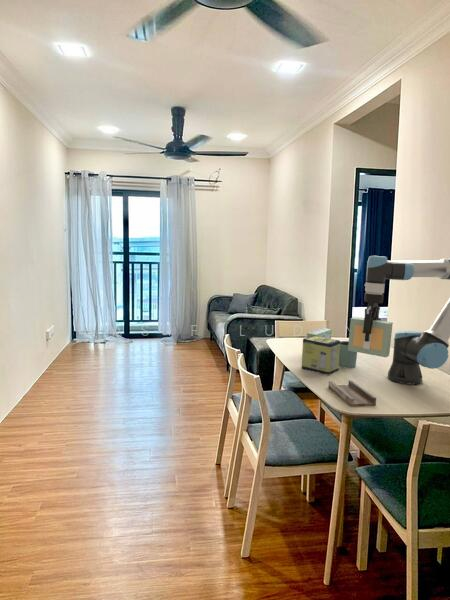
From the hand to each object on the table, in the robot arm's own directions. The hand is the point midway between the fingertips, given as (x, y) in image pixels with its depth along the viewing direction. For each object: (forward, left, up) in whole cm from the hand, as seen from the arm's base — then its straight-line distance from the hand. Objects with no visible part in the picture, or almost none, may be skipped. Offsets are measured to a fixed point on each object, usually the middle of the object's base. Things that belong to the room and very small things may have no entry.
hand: (368, 347), depth 183 cm
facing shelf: (+9, +5, -19) cm, 22 cm away
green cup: (-9, -38, -20) cm, 44 cm away
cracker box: (0, 0, -2) cm, 2 cm away
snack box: (0, -55, -20) cm, 59 cm away
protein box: (+8, -32, -20) cm, 39 cm away
